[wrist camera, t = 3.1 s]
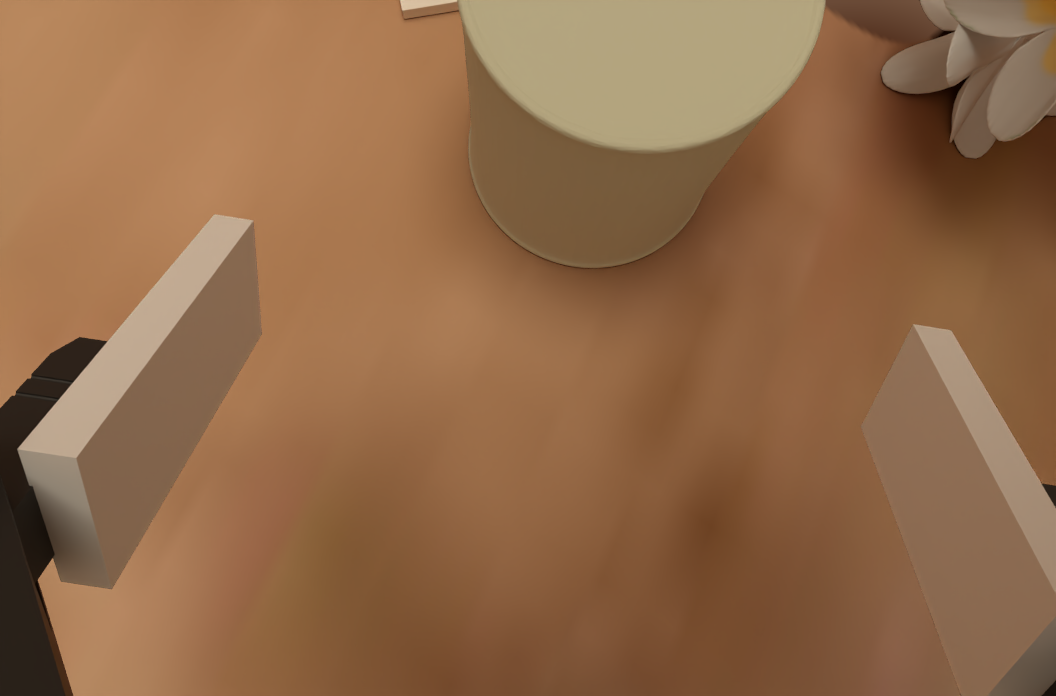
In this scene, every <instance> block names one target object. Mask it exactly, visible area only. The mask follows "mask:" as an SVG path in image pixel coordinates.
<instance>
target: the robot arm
mask: <svg viewBox="0 0 1056 696" xmlns="http://www.w3.org/2000/svg"><path fill="white" fill-rule="evenodd" d="M261 335H262V329H261V315H260V302H259V288H258V275H257V261H256V248H255V234H254V221H253V220H247V219H241V218H234V217H228V216H222V215H215V214H214V215H213V217H212V218H211V219H210V220H209V221H208V223H207V224H206V225H205V226H204V227H203V229H202V230H201V231H200V232H199V233H198V234H197V236H196V237H195V238H194V239H193V240H192V242H191V243H190V244H189V245H188V246H187V248H186V249H185V250H184V251H183V252H182V254H181V255H180V256H179V257H178V258H177V260H176V261H175V262H174V263H173V264H172V265H171V267H170V268H169V269H168V270H167V271H166V273H165V274H164V275H163V276H162V277H161V279H160V280H159V281H158V282H157V283H156V285H155V286H154V287H153V288H152V289H151V290H150V292H149V293H148V294H147V295H146V296H145V298H144V299H143V300H142V301H141V302H140V304H139V305H138V306H137V307H136V308H135V310H134V311H133V312H132V313H131V314H130V315H129V317H128V318H127V319H126V320H125V321H124V323H123V324H122V325H121V326H120V327H119V329H118V330H117V331H116V332H115V333H114V335H113V336H112V337H111V338H110V339H109V340H108V342H107V341H101V340H95V339H88V338H82V337H79V338H77V339H76V340H74V341H72V342H70V343H68V344H67V345H65V346H63V347H61V348H60V349H58V350H56V351H54V352H53V353H51V354H50V355H49V356H48V357H47V358H46V359H45V360H44V361H43V362H42V363H41V365H40V366H39V367H38V368H37V369H36V370H35V371H34V372H33V373H32V374H31V375H32V376H31V379H27V380H26V381H25V382H24V383H23V384H22V385H21V386H20V387H19V389H18V390H17V391H16V395H15V396H11V397H10V398H9V399H8V401H7V402H6V403H5V404H4V405H3V406H2V407H1V408H0V696H73V693H72V690H71V687H70V684H69V680H68V677H67V674H66V670H65V667H64V664H63V661H62V657H61V654H60V651H59V647H58V644H57V641H56V638H55V634H54V631H53V628H52V624H51V621H50V618H49V615H48V611H47V608H46V605H45V601H44V598H43V595H42V592H41V589H40V586H39V583H38V578H39V577H40V575H41V574H42V572H43V571H44V570H45V568H46V567H47V565H48V564H49V562H50V561H51V559H52V558H53V559H54V562H55V565H56V568H57V571H58V574H59V577H60V580H61V582H67V583H74V584H81V585H88V586H94V587H101V588H108V589H112V588H113V586H114V585H115V583H116V581H117V580H118V578H119V576H120V575H121V573H122V571H123V569H124V568H125V566H126V564H127V563H128V561H129V559H130V558H131V556H132V554H133V552H134V551H135V549H136V547H137V546H138V544H139V542H140V541H141V539H142V537H143V535H144V534H145V532H146V530H147V529H148V527H149V525H150V524H151V522H152V520H153V518H154V517H155V515H156V513H157V512H158V510H159V508H160V506H161V505H162V503H163V501H164V500H165V498H166V496H167V495H168V493H169V491H170V489H171V488H172V486H173V484H174V483H175V481H176V479H177V478H178V476H179V474H180V472H181V471H182V469H183V467H184V466H185V464H186V462H187V461H188V459H189V457H190V455H191V454H192V452H193V450H194V449H195V447H196V445H197V444H198V442H199V440H200V438H201V437H202V435H203V433H204V432H205V430H206V428H207V427H208V425H209V423H210V421H211V420H212V418H213V416H214V415H215V413H216V411H217V410H218V408H219V406H220V404H221V403H222V401H223V399H224V398H225V396H226V394H227V393H228V391H229V389H230V387H231V386H232V384H233V382H234V381H235V379H236V377H237V376H238V374H239V372H240V370H241V369H242V367H243V365H244V364H245V362H246V360H247V359H248V357H249V355H250V353H251V352H252V350H253V348H254V347H255V345H256V343H257V342H258V340H259V338H260V336H261ZM861 429H862V431H863V434H864V437H865V439H866V442H867V445H868V447H869V450H870V453H871V456H872V458H873V461H874V464H875V466H876V469H877V472H878V474H879V477H880V480H881V482H882V485H883V488H884V490H885V493H886V496H887V498H888V501H889V504H890V507H891V509H892V512H893V515H894V517H895V520H896V523H897V525H898V528H899V531H900V533H901V536H902V539H903V541H904V544H905V547H906V549H907V552H908V555H909V558H910V560H911V563H912V566H913V568H914V571H915V574H916V576H917V579H918V582H919V584H920V587H921V590H922V592H923V595H924V598H925V601H926V603H927V606H928V609H929V611H930V614H931V617H932V619H933V622H934V625H935V627H936V630H937V633H938V635H939V638H940V641H941V643H942V646H943V649H944V652H945V654H946V657H947V660H948V662H949V665H950V668H951V670H952V673H953V676H954V678H955V681H956V684H957V686H958V689H959V692H960V695H961V696H1056V486H1053V485H1047V484H1041V482H1040V481H1039V479H1038V477H1037V475H1036V474H1035V472H1034V470H1033V469H1032V467H1031V465H1030V464H1029V462H1028V460H1027V458H1026V457H1025V455H1024V453H1023V452H1022V450H1021V448H1020V447H1019V445H1018V443H1017V441H1016V440H1015V438H1014V436H1013V435H1012V433H1011V431H1010V430H1009V428H1008V426H1007V424H1006V423H1005V421H1004V419H1003V418H1002V416H1001V414H1000V413H999V411H998V409H997V407H996V406H995V404H994V402H993V401H992V399H991V397H990V396H989V394H988V392H987V390H986V389H985V387H984V385H983V384H982V382H981V380H980V379H979V377H978V375H977V373H976V372H975V370H974V368H973V367H972V365H971V363H970V362H969V360H968V358H967V356H966V355H965V353H964V351H963V350H962V348H961V346H960V345H959V343H958V341H957V339H956V338H955V336H954V334H953V333H952V331H951V330H947V329H940V328H934V327H928V326H921V325H915V324H913V325H912V327H911V329H910V331H909V333H908V335H907V337H906V339H905V341H904V343H903V345H902V347H901V349H900V351H899V353H898V355H897V357H896V359H895V361H894V363H893V365H892V367H891V369H890V371H889V372H888V374H887V376H886V378H885V380H884V382H883V384H882V386H881V388H880V390H879V392H878V394H877V396H876V398H875V400H874V402H873V404H872V406H871V408H870V410H869V412H868V414H867V416H866V418H865V420H864V422H863V423H862V425H861Z"/></svg>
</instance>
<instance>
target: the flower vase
mask: <svg viewBox="0 0 1056 696" xmlns="http://www.w3.org/2000/svg"><path fill="white" fill-rule="evenodd" d="M920 4H921V7H922V9H923V11H924V13H925V14H926V16H927V17H928V19H929V20H930V21H931V22H932V23H933V24H934V25H935V26H936V27H938V28H939V29H941V30H943V31H955V32H953V33H950V34H948V35H945V36H942V37H939V38H936V39H933V40H929V41H926V42H923V43H920V44H916V45H914V46H912V47H909V48H906V49H905V50H903V51H900V52H899V53H897V54H896V55H894V56H892V57H891V58H890V59H889V60H888V61H887V62H886V63H885V65H884V66H883V67H882V71H881V76H882V80H883V83H885V84H886V86H887V87H889V88H891V89H892V90H896V91H898V92H903V93H908V94H922V93H931V92H935V91H940V90H943V89H946V88H949V87H952V86H955V85H956V84H958V83H959V82H961V81H962V80H964V79H966V78H967V77H968V76H970V77H969V78H968V79H967V80H966V81H965V83H964V84H963V86H962V87H961V89H960V90H959V92H958V94H957V97H956V100H955V102H954V107H953V112H952V132H951V135H950V141H949V143H951V142H952V140H953V139H954V142H955V144H956V146H957V149H958V150H959V151H960V153H961V154H962V155H964V156H965V157H967V158H973V159H976V158H978V157H981V156H982V155H983V154H985V153H986V152H987V151H988V150H989V149H990V148H991V147H992V145H993V143H994V142H995V140H996V138H997V139H998V141H1004V142H1006V141H1012V140H1014V139H1016V138H1019V137H1021V136H1023V135H1024V134H1025V133H1027V132H1028V131H1030V130H1031V129H1032V128H1033V127H1034V126H1035V125H1036V124H1038V123H1039V122H1040V121H1041V120H1042V118H1043V117H1044V116H1045V115H1049V116H1056V0H920ZM1041 32H1043V33H1041Z"/></svg>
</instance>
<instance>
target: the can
mask: <svg viewBox="0 0 1056 696" xmlns="http://www.w3.org/2000/svg"><path fill="white" fill-rule="evenodd" d="M457 3H458V8H459V13H460V16H461V20H462V26H463V34H464V44H465V56H466V67H467V78H468V89H469V101H470V118H471V126H470V132H469V139H468V157H469V165H470V170H471V175H472V179H473V183H474V186H475V189H476V191H477V194H478V196H479V198H480V200H481V202H482V204H483V206H484V207H485V209H486V210H487V212H488V214H489V215H490V216H491V218H492V219H493V220H494V222H495V223H496V224H497V225H498V226H499V227H500V229H501V230H502V231H503V232H504V233H505V234H507V235H508V236H509V237H510V238H511V239H512V240H514V241H515V242H516V243H517V244H519V245H520V246H522V247H523V248H525V249H526V250H528V251H530V252H532V253H533V254H535V255H537V256H540V257H542V258H544V259H547V260H550V261H552V262H555V263H559V264H563V265H568V266H573V267H580V268H604V267H613V266H618V265H622V264H626V263H630V262H632V261H635V260H638V259H640V258H643V257H645V256H647V255H649V254H651V253H653V252H654V251H656V250H658V249H659V248H661V247H662V246H664V245H665V244H666V243H668V242H669V241H670V240H671V239H672V238H674V237H675V236H676V235H677V234H678V233H679V232H680V231H681V230H682V229H683V227H684V226H685V225H686V224H687V223H688V221H689V220H690V218H691V217H692V215H693V214H694V212H695V211H696V209H697V207H698V205H699V203H700V201H701V199H702V197H703V194H704V192H705V191H706V189H707V188H708V187H709V185H710V184H711V183H712V181H713V180H714V179H715V177H716V176H717V175H718V173H719V172H720V171H721V170H722V168H723V167H724V166H725V164H726V163H727V162H728V160H729V159H730V158H731V156H732V155H733V154H734V153H735V151H736V150H737V149H738V147H739V146H740V145H741V144H742V142H743V141H744V140H745V139H746V137H747V136H748V135H749V134H750V132H751V131H752V130H753V128H754V127H755V126H756V125H757V123H758V122H759V121H760V120H761V118H762V117H763V116H764V115H765V114H766V112H767V111H769V110H770V109H771V108H772V107H773V106H774V105H775V104H776V103H777V102H778V101H779V100H780V99H781V98H782V97H783V96H784V95H785V94H786V92H787V91H788V90H789V89H790V88H791V86H792V85H793V84H794V82H795V81H796V79H797V78H798V77H799V75H800V74H801V72H802V70H803V69H804V67H805V65H806V63H807V62H808V60H809V58H810V56H811V53H812V51H813V49H814V46H815V44H816V41H817V38H818V36H819V33H820V28H821V24H822V20H823V15H824V9H825V0H457Z"/></svg>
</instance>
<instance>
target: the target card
mask: <svg viewBox="0 0 1056 696" xmlns="http://www.w3.org/2000/svg"><path fill="white" fill-rule="evenodd" d="M400 2H401V7H402V12H403V17H404V19H408V18H414V17H420V16H427V15H433V14H439V13H445V12H451V11H457V10H459V8H458V3H457V0H400Z"/></svg>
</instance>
